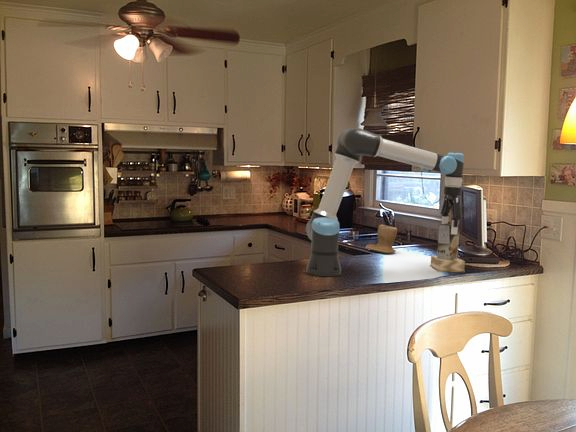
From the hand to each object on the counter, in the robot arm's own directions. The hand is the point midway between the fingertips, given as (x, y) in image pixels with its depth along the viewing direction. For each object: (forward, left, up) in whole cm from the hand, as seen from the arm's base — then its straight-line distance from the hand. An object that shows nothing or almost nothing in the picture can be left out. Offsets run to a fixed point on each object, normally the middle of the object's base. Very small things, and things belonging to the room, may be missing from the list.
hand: (448, 232), depth 257 cm
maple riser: (0, 0, -17) cm, 17 cm away
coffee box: (0, +1, -13) cm, 13 cm away
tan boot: (-21, +41, -18) cm, 50 cm away
